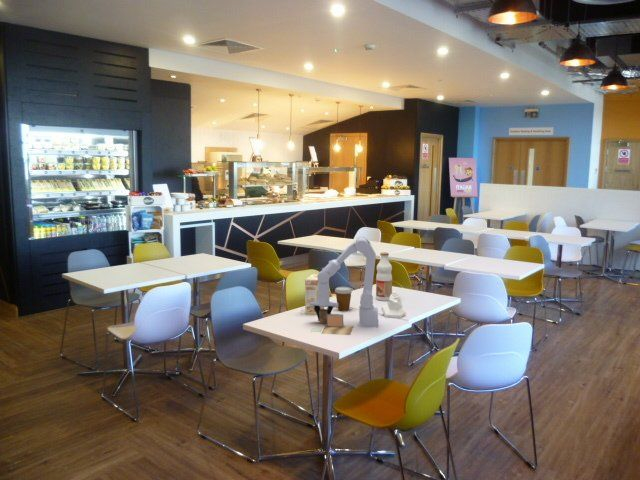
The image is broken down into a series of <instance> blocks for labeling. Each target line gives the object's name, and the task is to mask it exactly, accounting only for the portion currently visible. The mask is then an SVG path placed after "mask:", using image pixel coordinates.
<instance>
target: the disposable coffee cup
mask: <svg viewBox="0 0 640 480" xmlns="http://www.w3.org/2000/svg"><path fill="white" fill-rule="evenodd" d="M334 292H335V297H336V303H338V308H337V311H340V312H347V311H349V310H350V305H351V298H352V293H353V290H352V288H351V287H349V286H339V287H336V288H335V290H334Z"/></svg>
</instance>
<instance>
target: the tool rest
mask: <svg viewBox="0 0 640 480" xmlns="http://www.w3.org/2000/svg"><path fill="white" fill-rule="evenodd" d="M322 331H323V328H312V329H311V330H310V332H311V333H322Z"/></svg>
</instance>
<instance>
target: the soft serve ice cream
mask: <svg viewBox="0 0 640 480" xmlns="http://www.w3.org/2000/svg"><path fill="white" fill-rule="evenodd" d="M402 303H403V302H402V298H401V296H400V295H399V293H398V292H397V291H395V290H394V291H393V290H392V294H391V295H390V298H389V301H386V303H385V304H384V305H382V306H381V312H382V313H383V315H384V318H385V319H387V318H388V319H390V318H391V319H401V318H403V317H404V316H405V315H406V314H407V313H406V311H405V310H404V309H403V304H402Z"/></svg>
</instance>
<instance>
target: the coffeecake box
mask: <svg viewBox="0 0 640 480" xmlns="http://www.w3.org/2000/svg"><path fill="white" fill-rule="evenodd" d="M318 274H319V273H312V274H311V275H309V276H308V277H307V278H305V279H304V282H305V283H304V285H305V286H304V291H305V292H304V295H305V297H304V300H305V301H304V303H305V310H304V311H305V313H304V314H305V315H313V316H314V315H315V316H317V314H316V312H315V310H314V306H311V307H309V303H310V302H318V278H317V277H318ZM320 309H325V307H320Z"/></svg>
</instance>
